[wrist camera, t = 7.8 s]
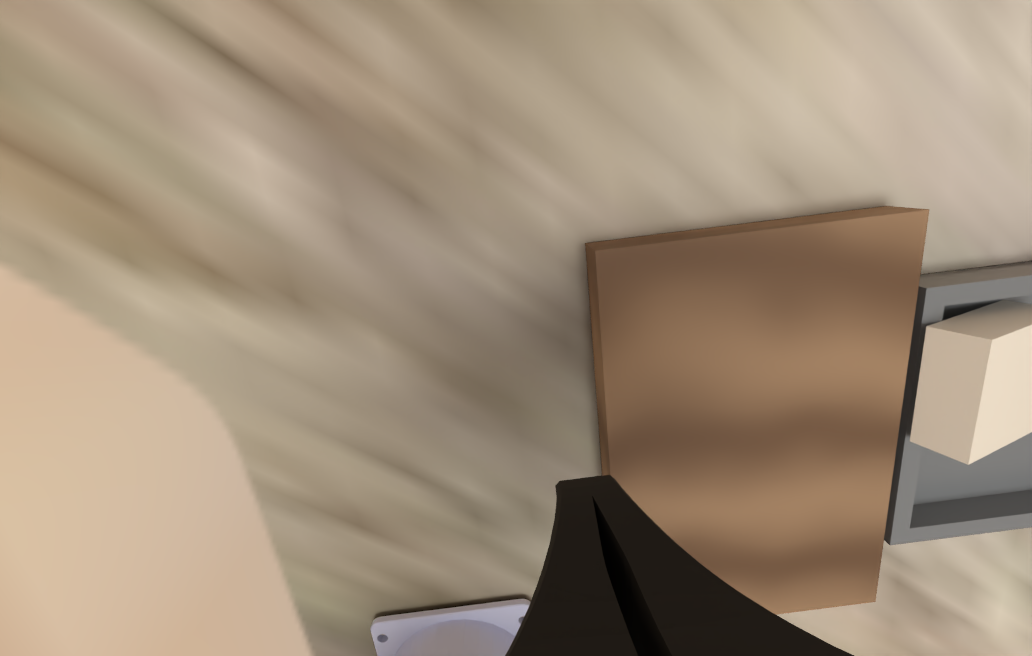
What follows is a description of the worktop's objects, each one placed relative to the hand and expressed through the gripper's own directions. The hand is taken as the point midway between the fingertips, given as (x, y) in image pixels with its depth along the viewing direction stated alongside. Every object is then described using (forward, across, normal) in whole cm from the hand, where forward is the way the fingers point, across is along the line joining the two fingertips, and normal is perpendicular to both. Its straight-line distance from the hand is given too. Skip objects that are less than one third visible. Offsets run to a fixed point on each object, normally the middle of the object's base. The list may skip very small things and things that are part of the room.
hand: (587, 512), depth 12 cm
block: (+8, -17, +2) cm, 19 cm away
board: (+9, -8, +4) cm, 13 cm away
